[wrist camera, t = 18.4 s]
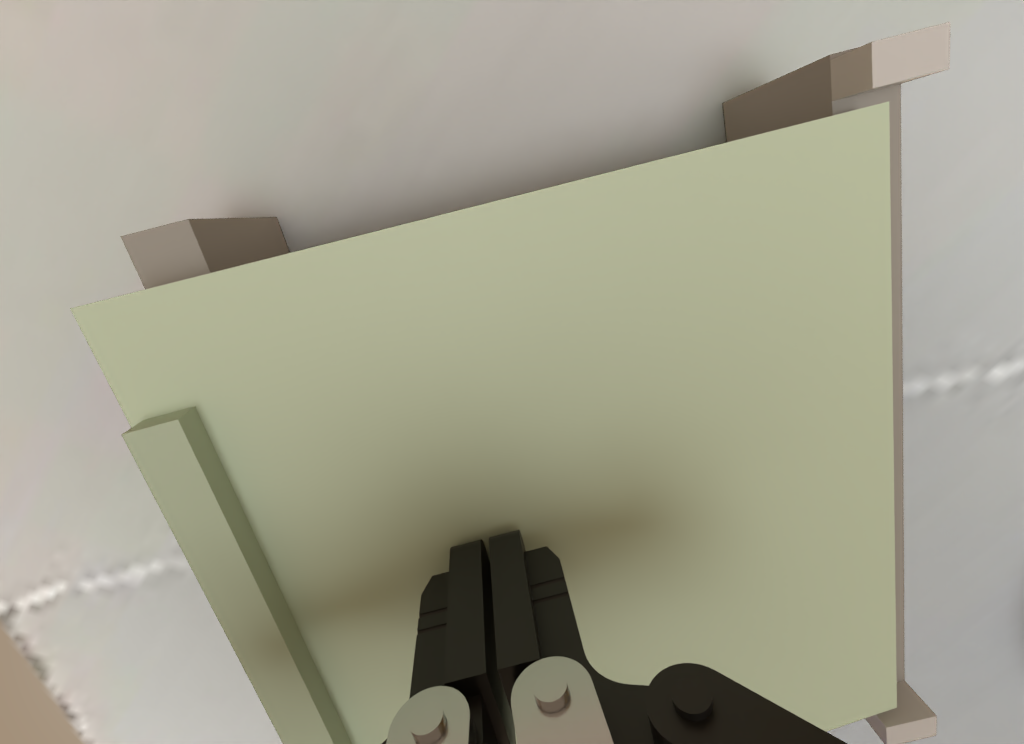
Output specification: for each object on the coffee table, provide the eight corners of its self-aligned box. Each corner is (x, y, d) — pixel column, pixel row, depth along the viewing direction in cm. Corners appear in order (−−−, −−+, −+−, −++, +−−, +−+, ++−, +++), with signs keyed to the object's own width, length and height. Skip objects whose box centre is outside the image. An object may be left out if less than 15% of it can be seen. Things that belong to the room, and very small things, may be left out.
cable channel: (809, 591, 21) (936, 737, 15) (411, 687, 22) (385, 867, 16) (771, 90, 16) (950, 15, 10) (229, 229, 16) (79, 239, 10)
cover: (874, 684, 16) (918, 729, 15) (371, 854, 15) (364, 921, 13) (857, 109, 11) (920, 92, 10) (98, 301, 10) (41, 315, 8)
